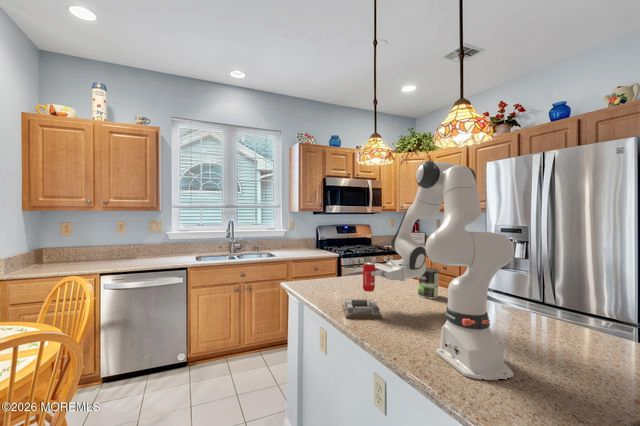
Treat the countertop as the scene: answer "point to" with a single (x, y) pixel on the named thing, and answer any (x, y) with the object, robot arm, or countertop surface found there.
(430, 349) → the countertop surface
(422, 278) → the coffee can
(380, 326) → the countertop surface
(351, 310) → the socket block
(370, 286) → the beverage can
